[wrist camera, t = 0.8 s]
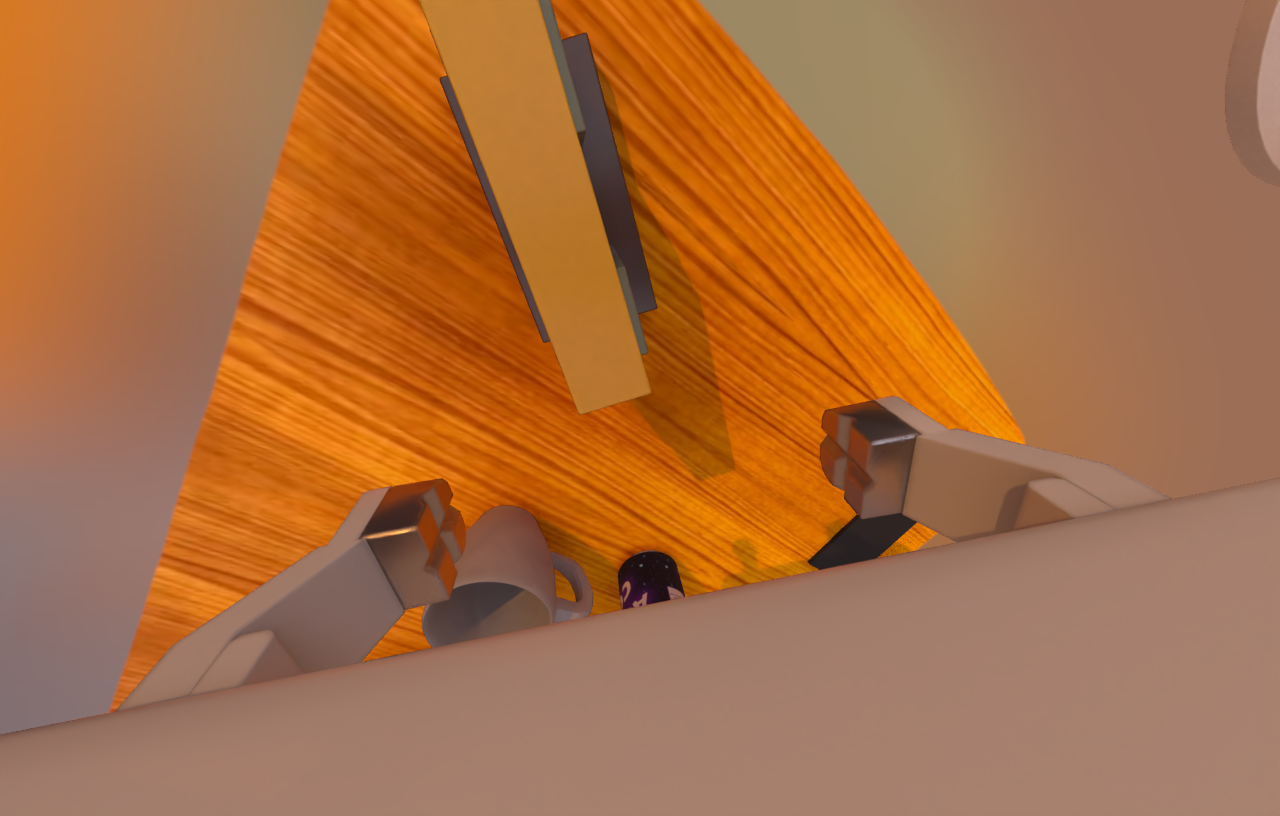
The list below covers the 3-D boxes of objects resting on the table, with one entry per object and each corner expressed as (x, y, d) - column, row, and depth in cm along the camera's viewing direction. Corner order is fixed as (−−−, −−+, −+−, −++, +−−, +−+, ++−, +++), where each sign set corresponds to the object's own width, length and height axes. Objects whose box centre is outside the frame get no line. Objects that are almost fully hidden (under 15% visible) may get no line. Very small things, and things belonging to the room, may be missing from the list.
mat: (946, 430, 40) (949, 432, 40) (981, 459, 43) (985, 461, 42) (807, 561, 46) (809, 564, 45) (845, 581, 48) (847, 584, 48)
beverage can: (634, 537, 41) (654, 660, 31) (686, 553, 43) (722, 675, 33) (607, 579, 43) (617, 708, 33) (657, 593, 45) (683, 720, 34)
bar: (526, -35, 16) (516, -78, 13) (643, 369, 23) (652, 393, 21) (431, -5, 16) (402, -43, 13) (578, 389, 23) (579, 415, 21)
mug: (443, 555, 40) (407, 658, 31) (469, 476, 36) (437, 567, 28) (573, 582, 43) (572, 681, 34) (607, 512, 40) (616, 602, 31)
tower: (586, 42, 25) (591, -35, 16) (653, 301, 32) (683, 347, 23) (448, 85, 25) (377, 32, 16) (545, 334, 32) (533, 393, 23)
